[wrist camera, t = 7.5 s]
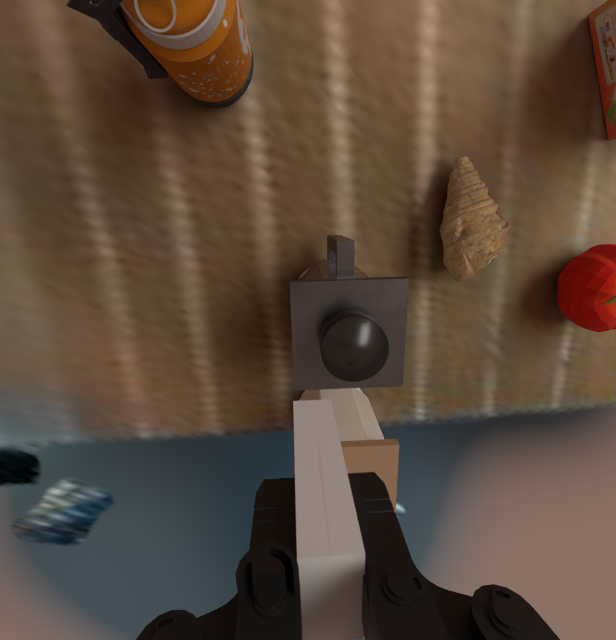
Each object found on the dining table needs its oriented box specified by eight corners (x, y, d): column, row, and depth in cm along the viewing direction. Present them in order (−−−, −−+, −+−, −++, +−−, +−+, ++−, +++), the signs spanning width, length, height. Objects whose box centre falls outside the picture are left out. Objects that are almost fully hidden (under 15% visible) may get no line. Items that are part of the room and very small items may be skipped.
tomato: (539, 326, 49) (588, 348, 41) (541, 248, 46) (595, 255, 38) (613, 313, 49) (678, 333, 41) (620, 234, 46) (692, 239, 37)
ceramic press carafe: (299, 457, 54) (301, 552, 39) (296, 378, 50) (296, 449, 35) (365, 454, 54) (393, 547, 39) (367, 375, 50) (399, 444, 35)
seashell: (412, 173, 43) (437, 163, 35) (476, 150, 42) (516, 136, 35) (435, 277, 47) (463, 289, 39) (494, 258, 46) (534, 266, 38)
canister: (265, 92, 40) (238, -24, 21) (177, 126, 40) (69, 45, 21) (235, 1, 37) (172, -227, 18) (141, 40, 38) (-16, -142, 19)
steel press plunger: (306, 331, 45) (312, 392, 29) (304, 276, 42) (310, 309, 27) (362, 329, 45) (396, 388, 29) (363, 274, 43) (401, 306, 27)
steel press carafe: (294, 335, 48) (294, 390, 33) (290, 235, 44) (287, 244, 29) (368, 332, 48) (402, 386, 33) (371, 232, 45) (410, 241, 29)
